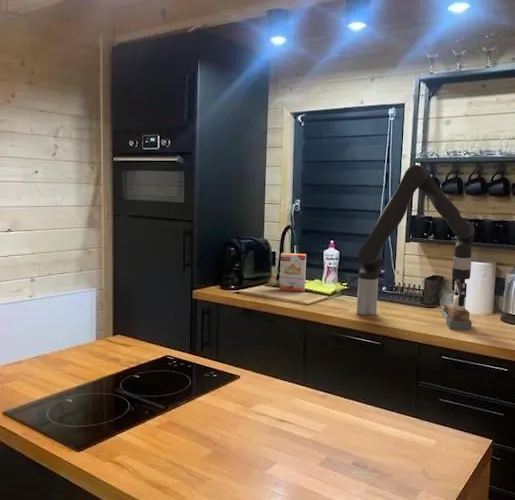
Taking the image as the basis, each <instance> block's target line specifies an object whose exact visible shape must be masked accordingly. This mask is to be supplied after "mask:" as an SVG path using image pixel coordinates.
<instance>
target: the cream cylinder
mask: <svg viewBox="0 0 515 500" xmlns="http://www.w3.org/2000/svg"><path fill="white" fill-rule="evenodd" d="M458 300H459V295H455V294H454V295H453V303H452V304H453V310H455V311H465V309H466V300H467V296H466V297H465V298H464V306H459V305H458Z"/></svg>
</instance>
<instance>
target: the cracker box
mask: <svg viewBox="0 0 515 500" xmlns="http://www.w3.org/2000/svg"><path fill="white" fill-rule="evenodd" d="M306 266H307V254H306V253H292V252H291V253H289V252H281V253H280V266H279V268H280V269H279V271H280V272H279V291H287V292H288V291H289V292H300V293H301V292H302V293H304V292H305V290H306V270H307V269H306V268H307V267H306Z"/></svg>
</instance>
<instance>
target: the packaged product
mask: <svg viewBox="0 0 515 500" xmlns="http://www.w3.org/2000/svg"><path fill="white" fill-rule="evenodd" d="M449 308H453V303H444V305H443V308H439V311H440V312H441V313H440V314H441V315H442V316H443V318H444V319H446V317H447V316H448V311H449Z"/></svg>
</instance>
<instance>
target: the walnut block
mask: <svg viewBox="0 0 515 500" xmlns="http://www.w3.org/2000/svg"><path fill="white" fill-rule="evenodd" d="M470 314H471V313H470V311H469V310H468V309H466V308H465V311H455V310H453V308H449V311H448V317H449V318H450V319H451V320H452V321H469V319H470Z"/></svg>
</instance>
